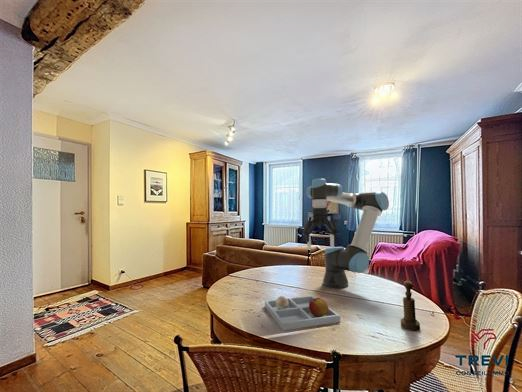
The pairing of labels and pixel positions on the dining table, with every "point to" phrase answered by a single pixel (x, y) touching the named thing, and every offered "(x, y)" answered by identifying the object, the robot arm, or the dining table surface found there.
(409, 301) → the dark tall piece
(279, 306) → the wooden ball
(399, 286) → the dining table surface
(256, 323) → the dining table surface
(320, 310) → the apple
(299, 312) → the tray
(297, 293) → the dining table surface
